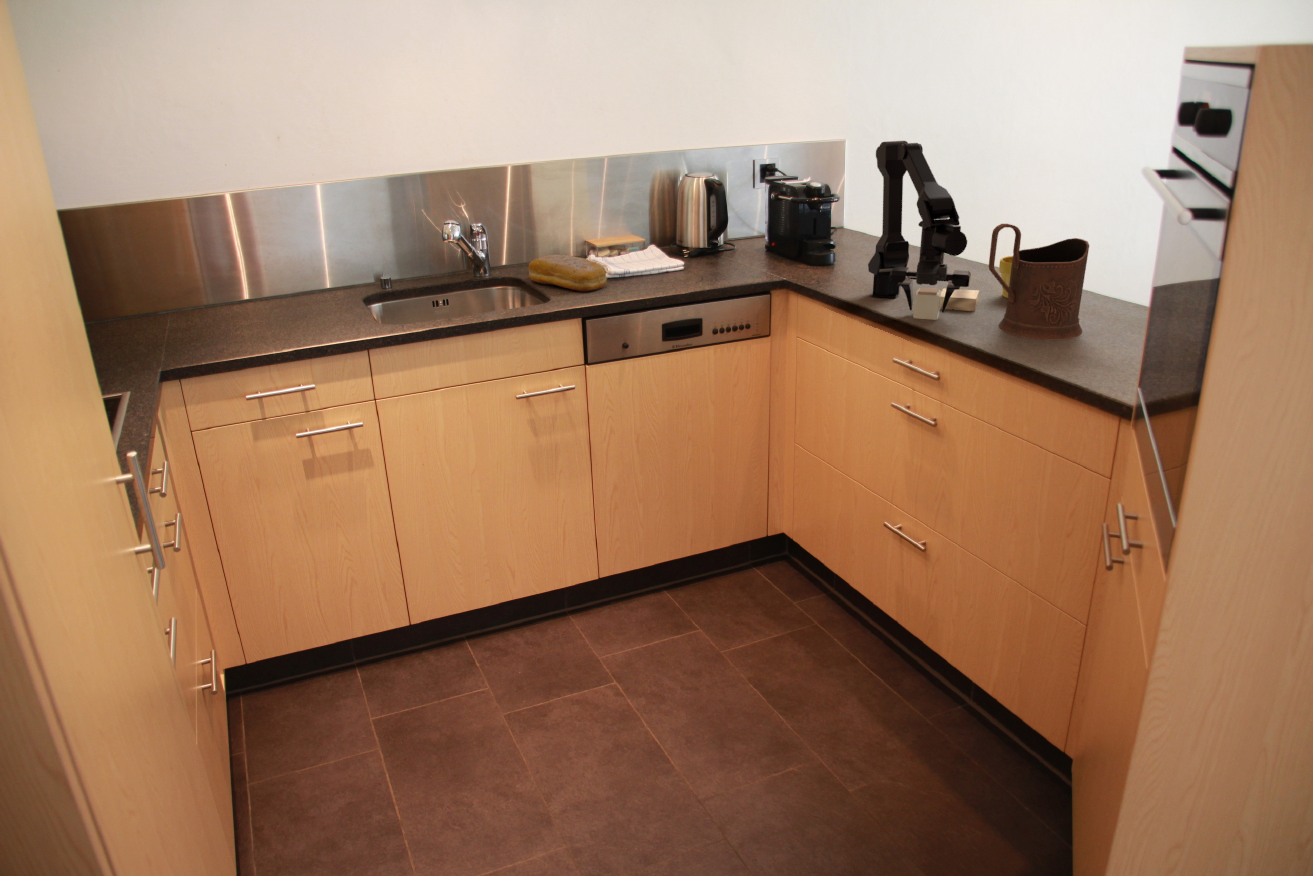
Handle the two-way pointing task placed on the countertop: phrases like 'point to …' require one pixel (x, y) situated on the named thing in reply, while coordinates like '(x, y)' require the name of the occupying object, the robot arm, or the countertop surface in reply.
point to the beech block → (961, 300)
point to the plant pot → (1005, 271)
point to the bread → (568, 272)
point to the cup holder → (1043, 288)
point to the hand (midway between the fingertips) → (926, 311)
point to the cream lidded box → (927, 303)
